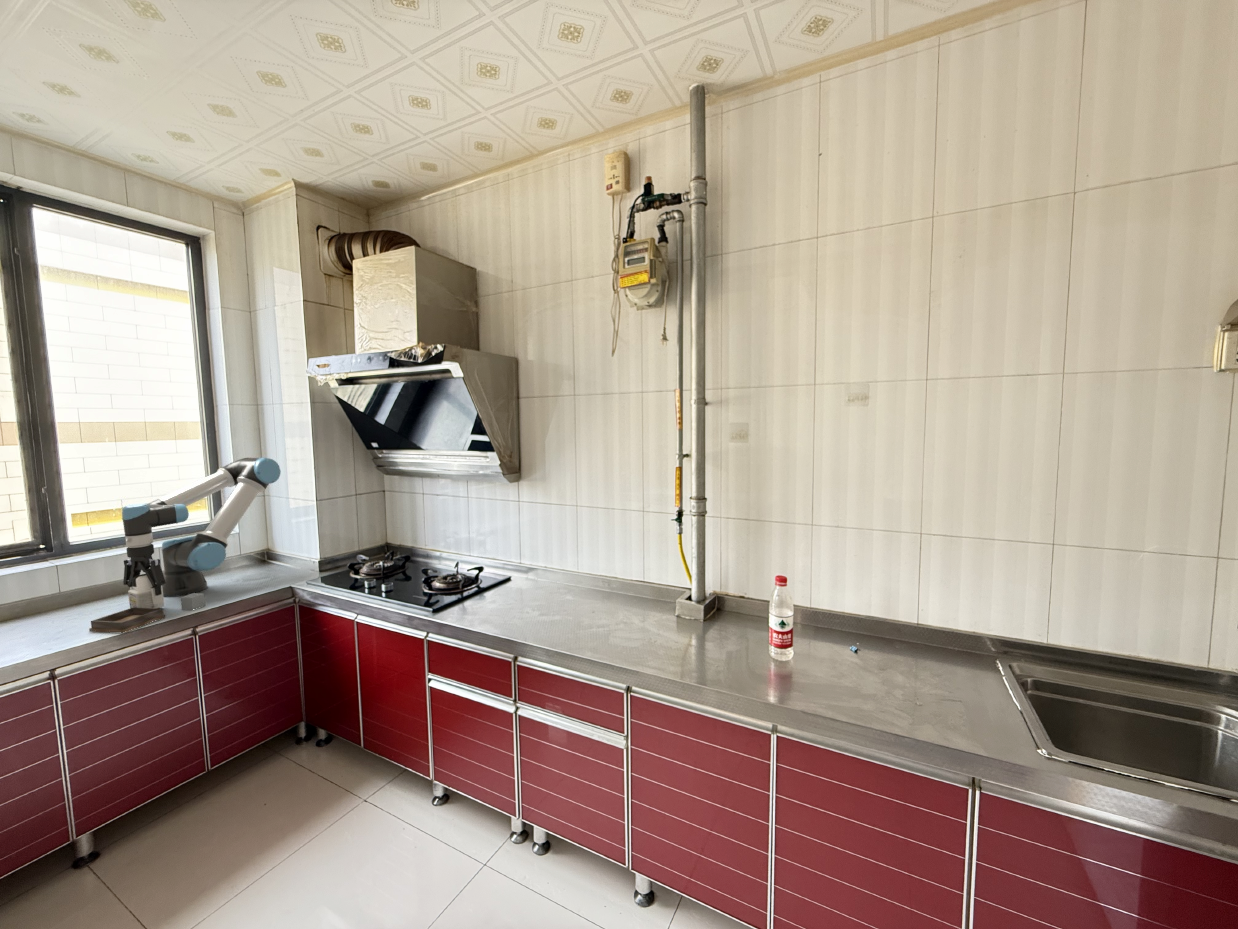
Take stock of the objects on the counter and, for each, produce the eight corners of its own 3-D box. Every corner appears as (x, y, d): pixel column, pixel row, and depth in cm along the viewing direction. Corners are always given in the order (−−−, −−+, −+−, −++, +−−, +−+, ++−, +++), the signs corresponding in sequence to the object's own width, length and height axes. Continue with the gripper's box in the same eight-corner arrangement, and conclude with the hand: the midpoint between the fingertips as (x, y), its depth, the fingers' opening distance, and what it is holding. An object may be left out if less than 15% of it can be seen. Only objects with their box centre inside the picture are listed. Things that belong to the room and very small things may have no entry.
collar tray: (134, 616, 190) (133, 606, 190) (165, 617, 188) (164, 608, 187) (89, 631, 176) (88, 621, 176) (122, 633, 174) (121, 623, 173)
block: (194, 605, 200) (193, 593, 200) (205, 606, 199) (204, 593, 199) (181, 610, 195) (180, 597, 195) (192, 610, 194) (191, 598, 194)
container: (129, 610, 194) (125, 576, 192) (155, 603, 200) (151, 571, 199) (139, 613, 190) (134, 579, 189) (164, 606, 197) (161, 573, 196)
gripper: (105, 547, 191) (112, 605, 193) (153, 548, 187) (160, 607, 190) (127, 542, 199) (134, 598, 201) (174, 543, 195) (180, 600, 197)
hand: (146, 603), depth 195 cm, fingers closed on container, 9 cm apart
